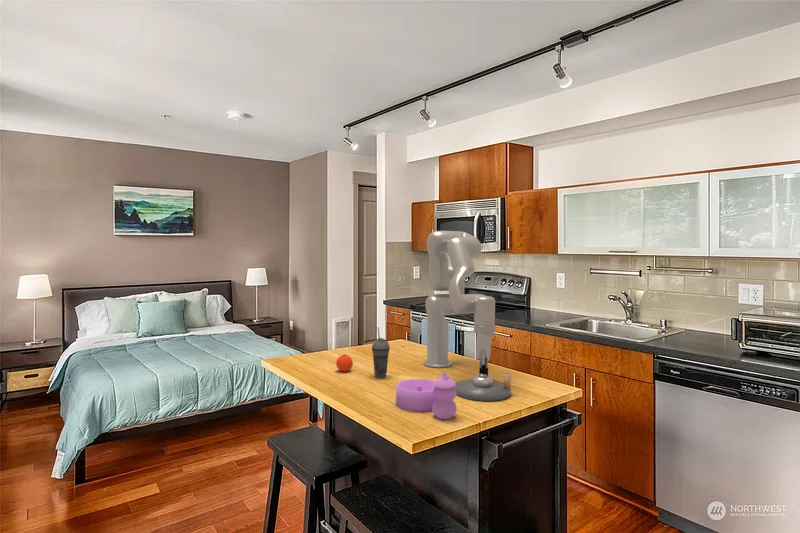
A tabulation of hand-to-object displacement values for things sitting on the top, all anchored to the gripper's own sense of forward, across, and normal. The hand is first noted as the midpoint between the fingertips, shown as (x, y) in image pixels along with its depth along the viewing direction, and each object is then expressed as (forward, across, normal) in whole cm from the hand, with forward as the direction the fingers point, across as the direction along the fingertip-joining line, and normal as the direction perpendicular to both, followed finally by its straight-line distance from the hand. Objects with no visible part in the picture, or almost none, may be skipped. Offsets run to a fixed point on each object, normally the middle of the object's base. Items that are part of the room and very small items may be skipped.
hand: (483, 378), depth 178 cm
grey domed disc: (+3, +7, 0) cm, 8 cm away
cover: (+1, +5, 0) cm, 5 cm away
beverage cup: (+4, -4, -41) cm, 41 cm away
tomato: (+4, -9, -58) cm, 59 cm away
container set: (+4, +29, -16) cm, 33 cm away
